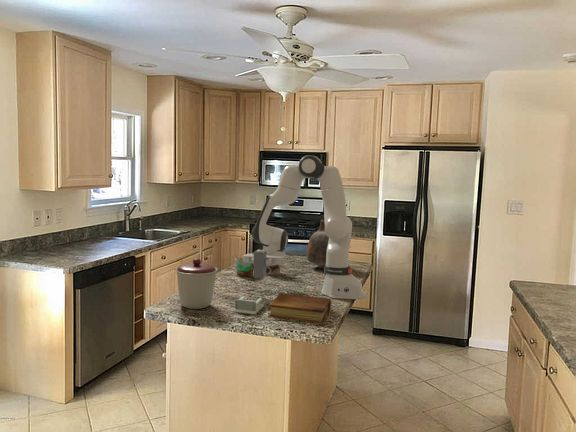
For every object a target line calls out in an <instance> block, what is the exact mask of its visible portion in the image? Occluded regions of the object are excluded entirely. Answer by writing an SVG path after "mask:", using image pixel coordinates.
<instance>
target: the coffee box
mask: <svg viewBox="0 0 576 432" xmlns="http://www.w3.org/2000/svg"><path fill="white" fill-rule="evenodd" d="M268 246H269V245H262V250H263V249H265V248H267V247H268ZM280 274H281V265H273V266H272V265H271V266H266V276H271V275H280Z"/></svg>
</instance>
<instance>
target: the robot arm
mask: <svg viewBox="0 0 576 432" xmlns="http://www.w3.org/2000/svg"><path fill="white" fill-rule="evenodd" d="M340 173H341V172H340V170H339V169H338V168H337V167H336V166H334V165H326V166H325V165H324V164H323V162H322V160H321V159H320V158H319V157H318V156H315V155H312V154H311V155H310V154H307V155H304V156H303V157H301V159H300V160H299V163H298V165H295V164H294V165H293V164H292V165H290V164H289V165H287V166H285V167H284V169H283V170H282V172H281V176H280V177H279V182H278V185H277V188H276V189H275V190H274V192H273V193H270V194H269V195H268V197H267V198H266V200H265V202H264V205H263V207H262V209H261V210H260V214H259V216H258V218H257V220H256V223H255V224H254V226H253V228H252V230H251V236H250V237H251V238H252V240H253V242H254V243H257V244H263V245H265V246H268V247H267V248H265V249H263V248H262V249H261V250H262V251H266V260H265V261H264V262H265V263H264V264H266V266H271V265H272V266H273V265H280V266H283V265H285V264H286V252H285V250H286V249H287V246H288V243H289V234H288V232H287V231H286V230H285V229H282V228H281V227H275V226H272V225H269V224H267V221H268V219H269V217H270V215H271V212H272V211H273V209H275V208H277V207H279V206H280V207H282V206H288V205H291V204H293V203H295V202H296V201H297V200H298V197H299V194H300V190H301V186H302V183H303V181H304V180H305V179H317V181H318V183H319V187H320V188H319V189H320V193H321V198H322V203H323V213H324V214H323V217H324V218H323V219H324V220H323V221H324V222H325V233H326V235H327V236H328V237H329V241H328V246H327V252H326V265H325V268H324V269H323V270H324V272H323V273H324V280H323V285H322V289H321V294H322V295H325V296H327V297H329V298H330V299H341V300H342V299H343V300H344V299H346V300H364V299H366V298H367V292H366V291H364V290H363V284H362V282H361V281H360V280H359V279H358V278H357V277H356V276H355V275H353V267H350V266H349V257H350V256H349V255H350V254H349V253H350V245H351V242H352V241H351V240H352V231H353V222H352V220H351V219H350V217H348V216H347V205H346V204H347V201H346V195H345V190H344V189H345V188H344V184H343V181H342V176H341V174H340ZM242 258H243V262H244V263H252V264H254V252H253V253H246V254H244V255H242Z"/></svg>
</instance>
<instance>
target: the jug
mask: <svg viewBox="0 0 576 432" xmlns="http://www.w3.org/2000/svg"><path fill="white" fill-rule="evenodd" d="M328 241H329V237H328V236H327V235H326V233H325V222H324V220H323V219H321V220H320V222H319V227H318V230H317V231H315V232H313V234H312V235H311V236H310V238H309V240H308V242H307V243H308V244H307V245H306V246H307V248H306V259H307V261H308V262H309V263H311V264H314V265H316V266H318V267H319V268H321V269H323V270H325V265H326V252H327V246H328Z"/></svg>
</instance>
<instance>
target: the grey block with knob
mask: <svg viewBox="0 0 576 432" xmlns="http://www.w3.org/2000/svg"><path fill="white" fill-rule="evenodd" d="M262 250H263V249H257V250H255V251H253V253H254V270H253V278H254V279H265V278H266V277H267V275H266V264H264V263H265V262H264V261H265V260H266V251H262Z"/></svg>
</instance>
